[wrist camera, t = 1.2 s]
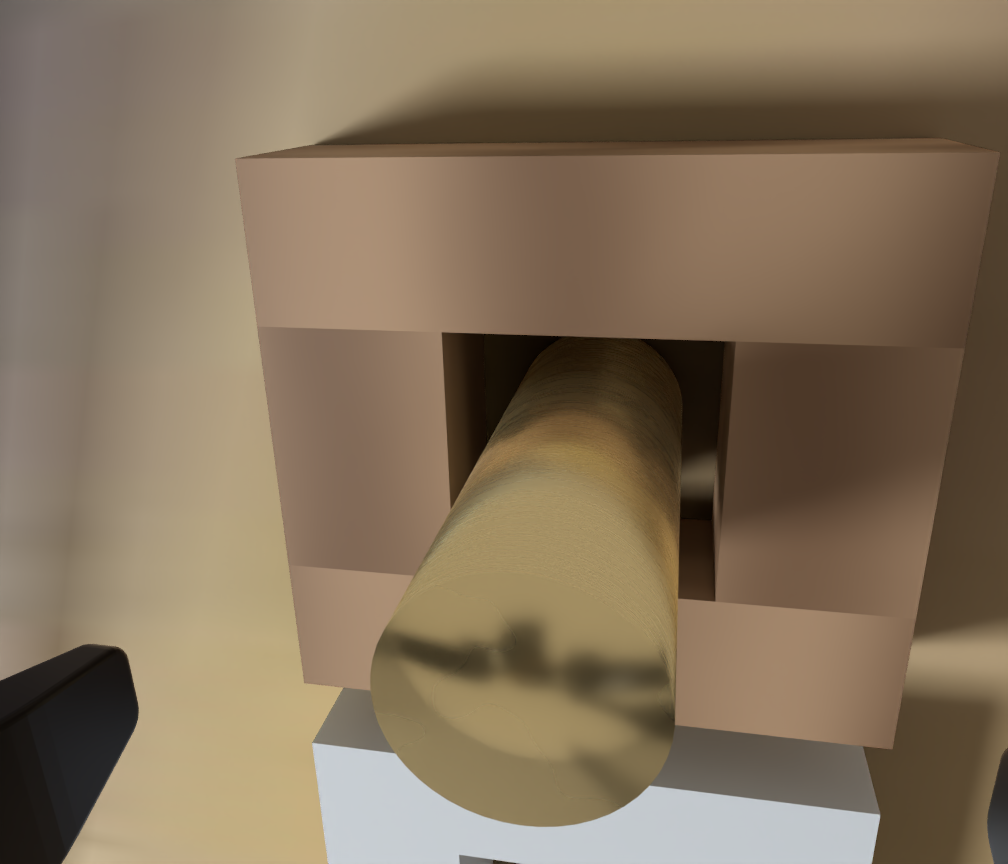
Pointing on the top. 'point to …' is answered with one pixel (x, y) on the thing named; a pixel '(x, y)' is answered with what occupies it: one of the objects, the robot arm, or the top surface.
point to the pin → (549, 600)
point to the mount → (648, 315)
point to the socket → (622, 834)
